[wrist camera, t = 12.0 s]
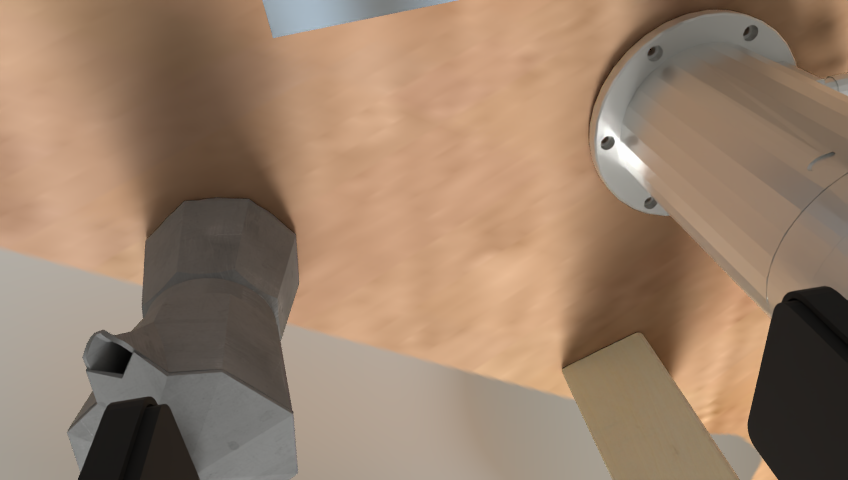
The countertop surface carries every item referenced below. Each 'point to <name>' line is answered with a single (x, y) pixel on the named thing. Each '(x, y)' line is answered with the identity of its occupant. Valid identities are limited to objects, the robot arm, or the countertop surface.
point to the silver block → (331, 12)
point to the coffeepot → (208, 341)
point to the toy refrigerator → (642, 416)
